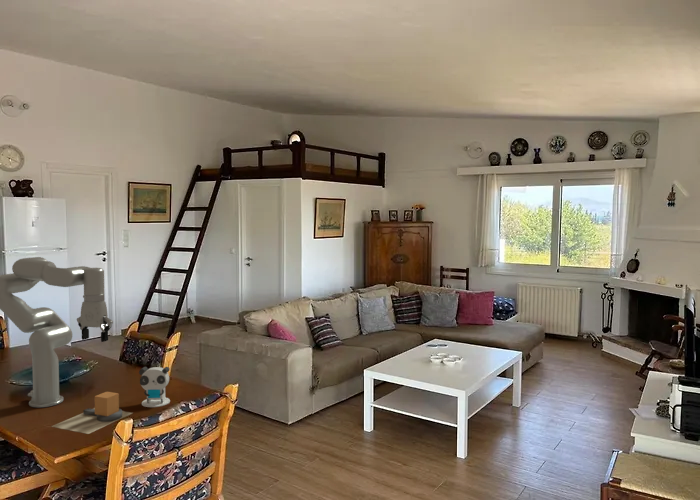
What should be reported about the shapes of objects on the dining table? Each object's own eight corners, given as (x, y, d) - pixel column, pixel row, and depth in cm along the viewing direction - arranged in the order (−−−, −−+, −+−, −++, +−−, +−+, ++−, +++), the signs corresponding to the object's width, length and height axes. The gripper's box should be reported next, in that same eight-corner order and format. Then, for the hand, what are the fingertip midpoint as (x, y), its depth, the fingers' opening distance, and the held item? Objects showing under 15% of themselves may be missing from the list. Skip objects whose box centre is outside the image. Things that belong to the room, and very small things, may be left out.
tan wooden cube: (94, 414, 204) (94, 396, 203) (106, 408, 209) (106, 391, 209) (107, 416, 202) (107, 398, 201) (118, 411, 207) (118, 393, 207)
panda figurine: (135, 407, 219) (135, 371, 218) (146, 397, 231) (145, 363, 230) (164, 407, 219) (164, 371, 219) (173, 398, 231) (173, 364, 230)
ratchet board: (51, 430, 196) (50, 410, 196) (97, 410, 217) (97, 392, 217) (88, 438, 190) (88, 417, 190) (133, 416, 211) (132, 398, 210)
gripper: (69, 298, 214) (70, 340, 215) (104, 301, 208) (105, 344, 209) (84, 295, 221) (85, 336, 222) (118, 298, 215) (119, 340, 216)
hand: (94, 340), depth 216 cm, fingers open, 9 cm apart
